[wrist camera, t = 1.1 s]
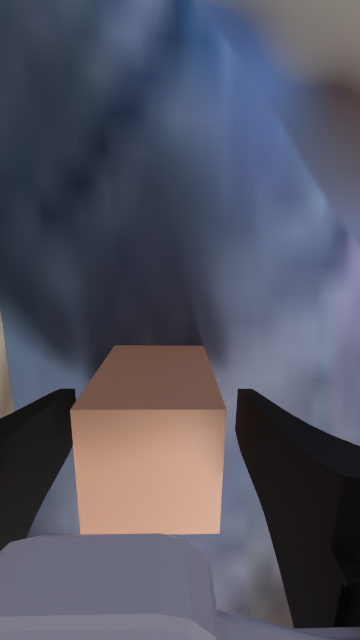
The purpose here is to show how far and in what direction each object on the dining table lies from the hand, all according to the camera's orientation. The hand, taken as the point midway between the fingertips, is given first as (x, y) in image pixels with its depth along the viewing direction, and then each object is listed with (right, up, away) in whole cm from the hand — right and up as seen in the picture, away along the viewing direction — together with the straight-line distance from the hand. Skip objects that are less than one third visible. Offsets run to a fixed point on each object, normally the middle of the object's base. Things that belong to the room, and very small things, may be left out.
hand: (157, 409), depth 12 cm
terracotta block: (0, 0, +2) cm, 2 cm away
